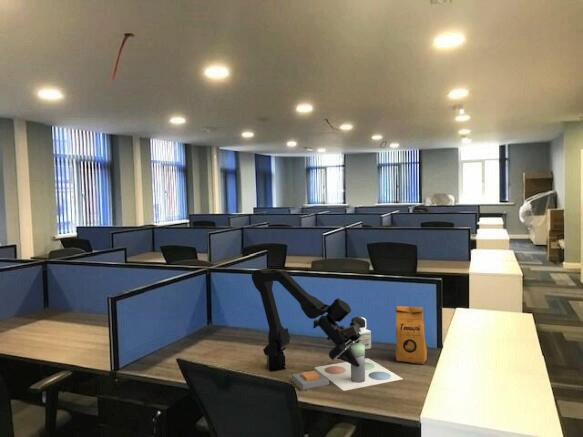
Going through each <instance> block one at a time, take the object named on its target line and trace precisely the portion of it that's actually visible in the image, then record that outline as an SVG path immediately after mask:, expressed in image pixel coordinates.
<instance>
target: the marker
mask: <svg viewBox="0 0 583 437" xmlns="http://www.w3.org/2000/svg"><path fill="white" fill-rule="evenodd" d="M350 346H351V353H352V354H353V356H354V357H355V358H356V360H357V361H358V363H359V364H360V366H359V367H356V366H354V365H352V364H351V381H352V382H356V383H362V382H364V381H365V359H366V349H365V345H364V344H360V343H354V344H351V345H350Z"/></svg>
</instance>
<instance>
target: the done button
mask: <svg viewBox="0 0 583 437" xmlns="http://www.w3.org/2000/svg"><path fill="white" fill-rule="evenodd" d="M300 373H301V377H302V378H303V379H305V380H306V381H309V380H314V379H320V375H318V374H317V373H316V372H315V371H314V370H309V371H304V372H300Z"/></svg>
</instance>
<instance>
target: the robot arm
mask: <svg viewBox="0 0 583 437" xmlns="http://www.w3.org/2000/svg"><path fill="white" fill-rule="evenodd" d="M251 281H252V283H253V285H254V288H255V289H257V290H256V291H258V292H259V294H260V298H261V302H262V306H263V309H264V313H265V318H266V321H267V324H268V334H267V340H268V344H267V345H266V346H265V347H264V348H263V349H262V351H263V355H264V356H266V364H265V366H264V367H265V368H266V369H267V370H268V371H269V372H276V371H282V370H286V369H287V367H286V355H285V352H284V351H285V350H286V349H287V347H288V346H289V344H290V340H291V336H290V333H289V328H288V327H284V326H283V325H282V322H281V319H280V316H279V311H278V307H277V305H276V304H277V303H276V300H275V296H274V292H273V284H274V282H278V283H279V284H280V285H281V286H282V287H283V288H284V289H285V290H286V291H287V292H288V293H289V294H290V295H291V297H292V298H294V299H295V300H296V301H297V302H298V303H299V305H300V308H301V310H302V312H303V313H304V315H305V316H306V317H307V318H308V319H310V320H311V319H313V320H312V321H313V327H312V328H313V329H316V328H317V327H319V328H320V329H321V330H322V331H323V333H324V334H325V335H326V336H327V338H326V339H327V341H331V342H332V343H333V345H334V347H333V348H332V349H331V350H330V351H329V352H328V357H329V358H330V359H331V361H333V360H335V359H337V360H341V361H343V362H348V363H350V364H352V365H354V366H356V367H359V366H360V364H359V363H358V361H357V360H356V358H355V357H354V356H353V354H352V353H351V346H350V345H351V344H354V343H359V341H360V340H358V339H359V338H360V337H361V335H360V333H359V332H361V330H360V325H359V324H358V323H357V322H356V321H353V322H351V321H350V323H349V326H347V327H345V326H344V325H339V324H338V323H341V322H342V321H343V320H344V319H345V318H346V317H347V316H348V315H349V314H350V313H351V312H352V308H351V307H350V305H349V304H348V303H347V302H345V301H344V300H341V299H340V298H339V297H338V298H335V299H334V301H333V302H332V303H331V305H330V304H325V303H324V302H322V301H321V300H320V299H319V298H317V297H316V296H313V295H310V293H308V292H307V291H305V289H304V288H303V287H302V286H301V285H300V284H299V283H298V282H297V281H296V280H295V279H294V278H293V277H292V276H291V275H290V274H289V273H288V271H287V270H285V269H270V268H268V267H263V268H259V269H256V270H254V271H252V274H251ZM326 313H327V314H326ZM325 314H326V315H325ZM318 317H319V318H318ZM317 318H318V319H317ZM314 319H315V320H314ZM337 322H338V323H337ZM356 340H357V341H356Z"/></svg>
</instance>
